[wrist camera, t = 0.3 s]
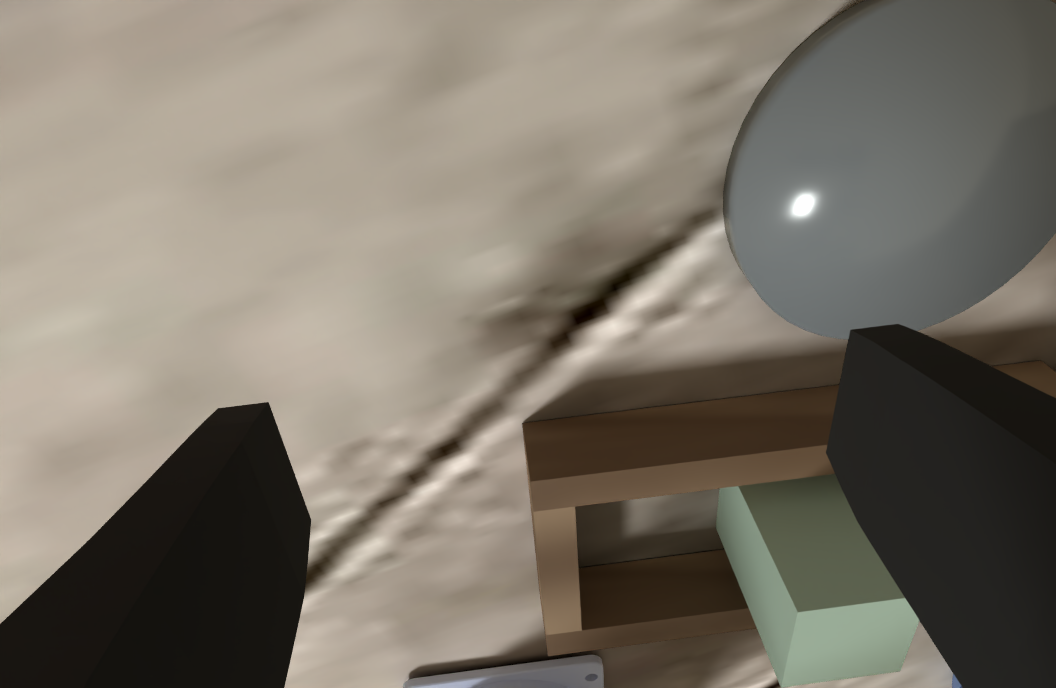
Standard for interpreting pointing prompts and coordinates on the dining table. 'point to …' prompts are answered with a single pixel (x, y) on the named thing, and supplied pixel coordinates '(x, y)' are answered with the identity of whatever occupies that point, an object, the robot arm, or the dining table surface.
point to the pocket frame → (663, 469)
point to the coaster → (898, 164)
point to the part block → (813, 581)
